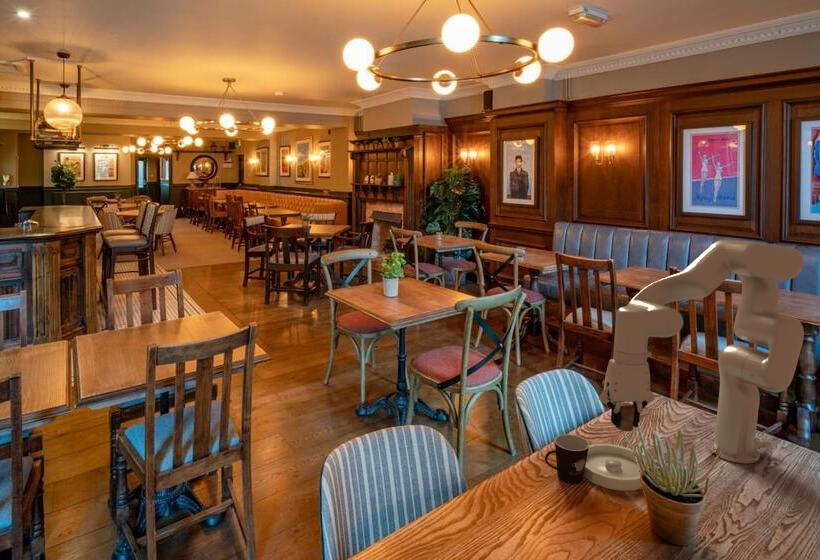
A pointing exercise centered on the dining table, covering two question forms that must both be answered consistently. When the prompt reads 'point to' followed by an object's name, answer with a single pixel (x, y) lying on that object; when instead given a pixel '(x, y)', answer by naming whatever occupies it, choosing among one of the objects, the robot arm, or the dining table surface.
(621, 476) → the tray
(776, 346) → the robot arm
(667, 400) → the dining table surface
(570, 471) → the coffee mug
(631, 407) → the cylinder
